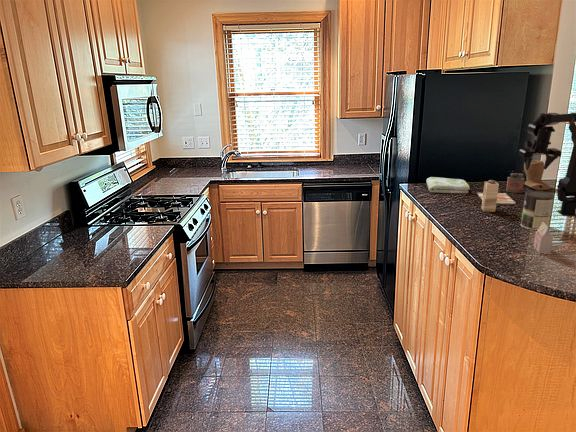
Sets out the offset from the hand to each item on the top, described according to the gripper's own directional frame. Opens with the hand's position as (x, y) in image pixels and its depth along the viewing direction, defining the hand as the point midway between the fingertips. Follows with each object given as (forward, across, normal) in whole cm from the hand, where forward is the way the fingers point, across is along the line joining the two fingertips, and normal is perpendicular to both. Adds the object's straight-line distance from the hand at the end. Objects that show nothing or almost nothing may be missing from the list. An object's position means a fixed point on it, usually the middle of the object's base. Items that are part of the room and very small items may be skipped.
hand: (535, 169), depth 217 cm
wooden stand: (+17, -13, -17) cm, 27 cm away
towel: (+18, +35, -20) cm, 44 cm away
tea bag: (+6, +37, +68) cm, 78 cm away
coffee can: (+9, +24, +44) cm, 51 cm away
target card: (+14, +19, +2) cm, 24 cm away
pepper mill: (+12, +32, +19) cm, 39 cm away
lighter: (+16, +2, -10) cm, 19 cm away
